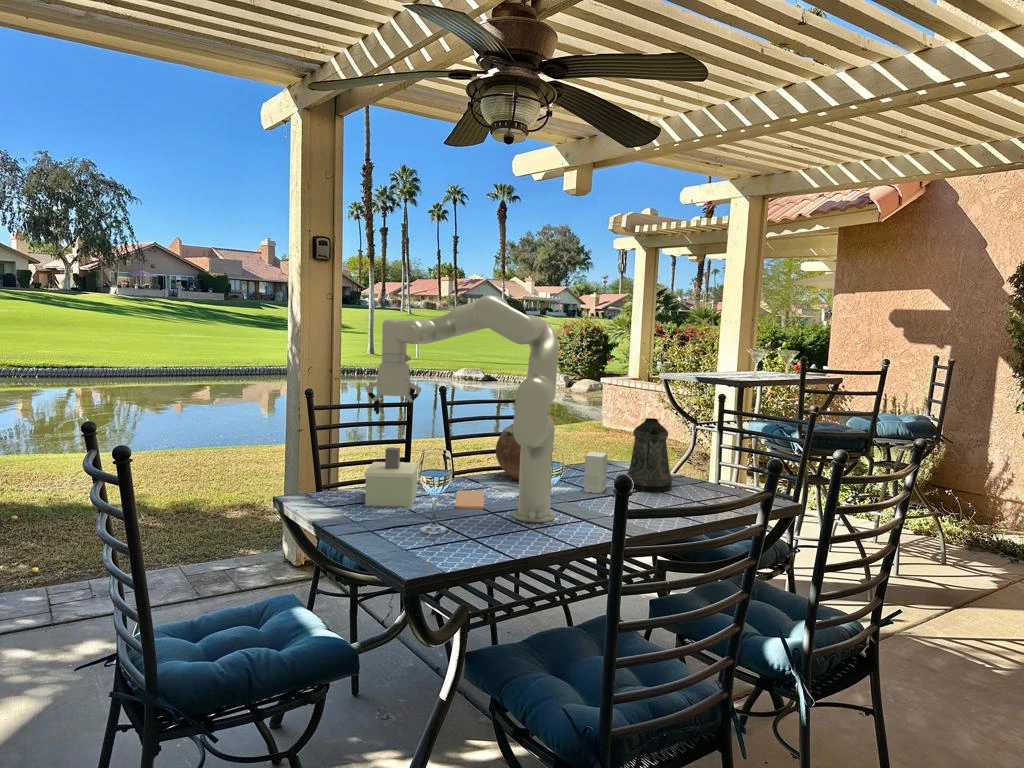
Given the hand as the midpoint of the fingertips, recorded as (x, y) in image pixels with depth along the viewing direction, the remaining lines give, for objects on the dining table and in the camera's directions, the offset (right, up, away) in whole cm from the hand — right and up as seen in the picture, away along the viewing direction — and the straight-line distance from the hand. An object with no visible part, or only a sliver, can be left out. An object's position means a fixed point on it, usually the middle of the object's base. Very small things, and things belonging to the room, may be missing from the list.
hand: (393, 414), depth 213 cm
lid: (0, -19, +2) cm, 19 cm away
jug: (+42, -26, +42) cm, 65 cm away
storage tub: (-1, -28, +2) cm, 28 cm away
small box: (+66, -28, +26) cm, 77 cm away
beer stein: (+87, -28, +32) cm, 97 cm away
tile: (+19, -28, +7) cm, 35 cm away
